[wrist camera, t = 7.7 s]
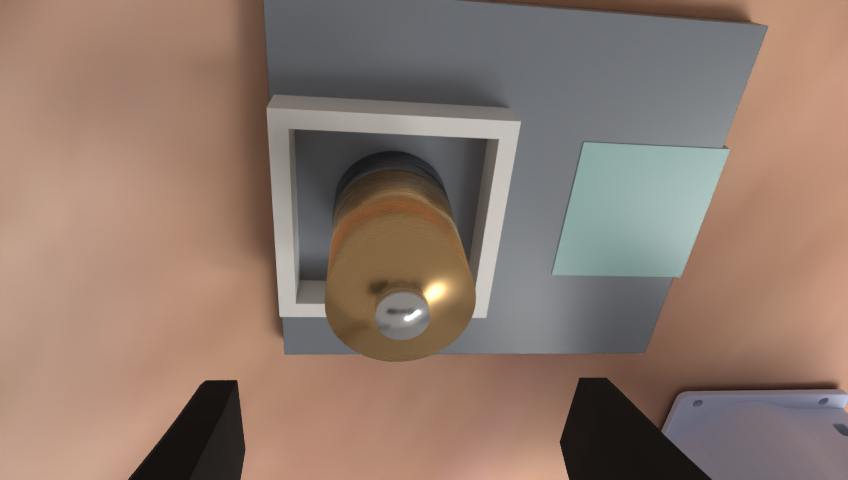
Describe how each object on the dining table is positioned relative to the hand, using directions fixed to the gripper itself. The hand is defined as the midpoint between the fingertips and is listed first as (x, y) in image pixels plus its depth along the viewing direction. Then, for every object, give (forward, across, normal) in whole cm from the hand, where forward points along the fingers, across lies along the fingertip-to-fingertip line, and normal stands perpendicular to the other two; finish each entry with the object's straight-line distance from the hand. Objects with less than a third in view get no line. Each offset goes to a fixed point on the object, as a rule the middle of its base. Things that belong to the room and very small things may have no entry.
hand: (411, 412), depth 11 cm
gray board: (+10, -4, 0) cm, 11 cm away
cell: (+9, 0, 0) cm, 9 cm away
